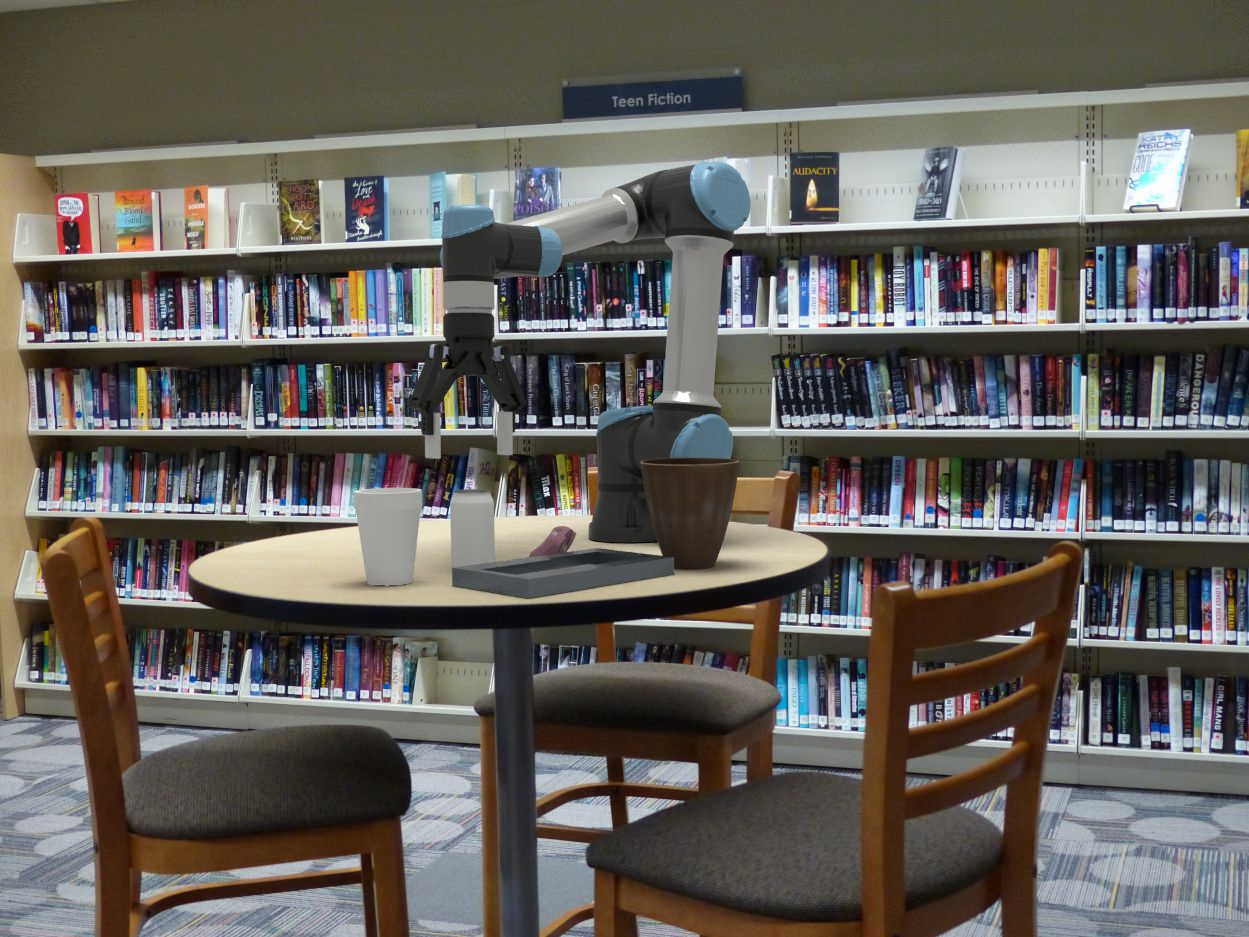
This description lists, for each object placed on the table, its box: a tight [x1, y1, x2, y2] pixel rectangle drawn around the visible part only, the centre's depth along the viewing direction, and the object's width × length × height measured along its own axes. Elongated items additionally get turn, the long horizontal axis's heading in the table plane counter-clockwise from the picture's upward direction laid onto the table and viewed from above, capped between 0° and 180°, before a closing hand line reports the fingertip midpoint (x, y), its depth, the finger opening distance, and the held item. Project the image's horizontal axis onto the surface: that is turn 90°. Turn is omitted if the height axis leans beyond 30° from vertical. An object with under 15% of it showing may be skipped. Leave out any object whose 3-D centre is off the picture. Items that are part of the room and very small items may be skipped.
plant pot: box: [640, 458, 740, 570], centre depth 199 cm, size 15×15×16 cm
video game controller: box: [528, 525, 577, 557], centre depth 205 cm, size 10×5×7 cm, turn 169°
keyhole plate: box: [451, 547, 675, 599], centre depth 187 cm, size 28×16×2 cm, turn 135°
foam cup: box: [353, 487, 423, 587], centre depth 186 cm, size 10×9×13 cm
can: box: [449, 488, 496, 569], centre depth 196 cm, size 6×6×12 cm
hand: (469, 456), depth 196 cm, fingers open, 13 cm apart
